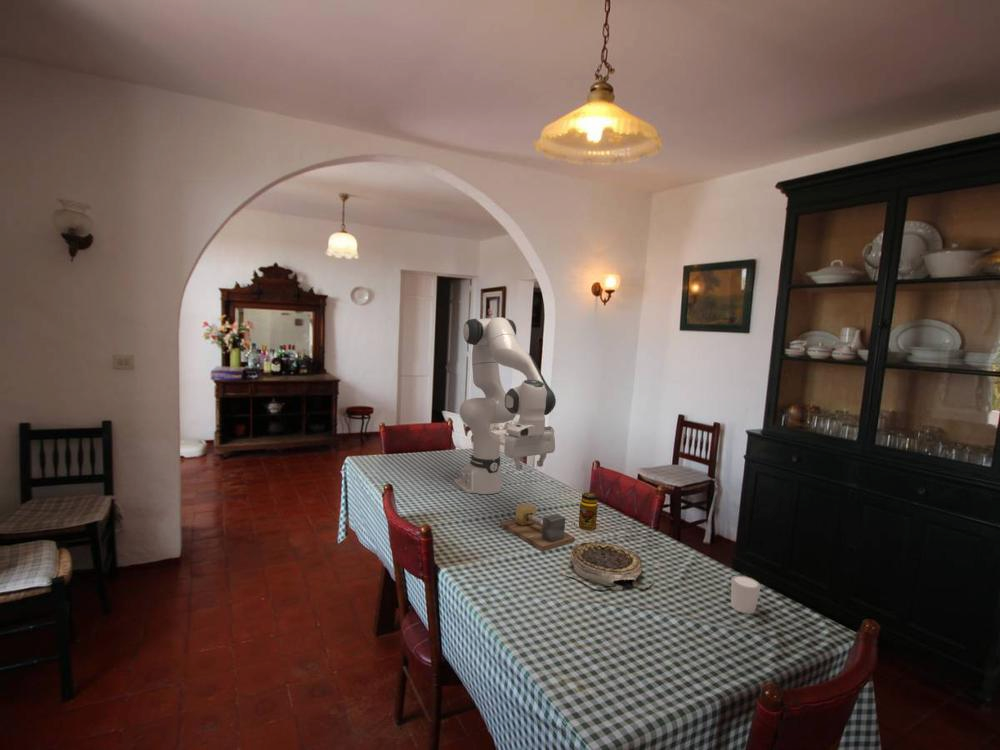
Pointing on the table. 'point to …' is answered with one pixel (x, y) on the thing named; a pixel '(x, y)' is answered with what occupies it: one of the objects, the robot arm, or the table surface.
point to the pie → (606, 564)
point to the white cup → (744, 594)
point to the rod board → (541, 531)
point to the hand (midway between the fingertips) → (529, 467)
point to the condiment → (588, 513)
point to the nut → (524, 513)
